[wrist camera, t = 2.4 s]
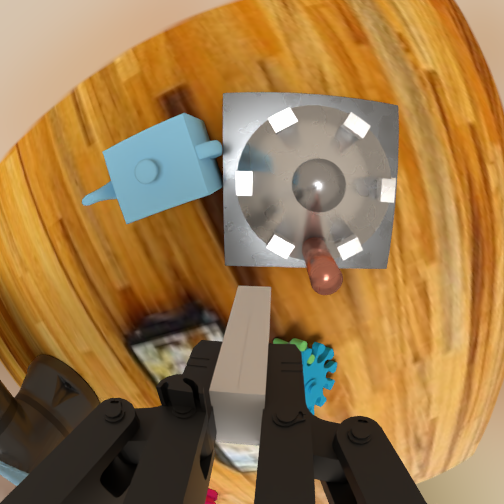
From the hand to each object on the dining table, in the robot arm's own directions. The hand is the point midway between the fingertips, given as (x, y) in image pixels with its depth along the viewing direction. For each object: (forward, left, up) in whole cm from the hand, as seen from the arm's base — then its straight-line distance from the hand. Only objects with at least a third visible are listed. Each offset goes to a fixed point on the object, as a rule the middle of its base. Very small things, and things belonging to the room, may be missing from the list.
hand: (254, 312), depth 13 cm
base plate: (+4, +5, -14) cm, 15 cm away
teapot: (-8, +6, -14) cm, 18 cm away
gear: (+5, -15, -14) cm, 21 cm away
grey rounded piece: (+4, +5, -12) cm, 13 cm away
